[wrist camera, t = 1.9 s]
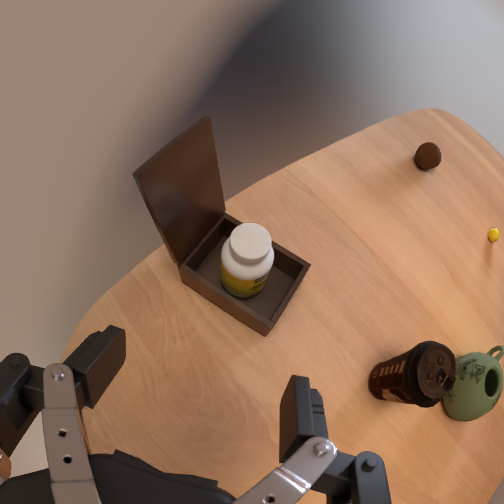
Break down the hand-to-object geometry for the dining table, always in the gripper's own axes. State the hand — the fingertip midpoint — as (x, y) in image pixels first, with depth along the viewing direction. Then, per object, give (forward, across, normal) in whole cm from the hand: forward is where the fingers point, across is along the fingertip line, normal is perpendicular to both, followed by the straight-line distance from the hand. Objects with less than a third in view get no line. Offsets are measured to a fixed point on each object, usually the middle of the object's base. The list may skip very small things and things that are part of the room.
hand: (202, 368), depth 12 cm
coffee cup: (+22, -26, +16) cm, 37 cm away
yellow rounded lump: (+49, -61, -11) cm, 79 cm away
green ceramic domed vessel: (+22, -45, +16) cm, 52 cm away
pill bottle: (+29, 0, +8) cm, 30 cm away
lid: (+22, +7, -4) cm, 23 cm away
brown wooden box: (+30, 0, +8) cm, 31 cm away
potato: (+60, -39, -23) cm, 75 cm away
